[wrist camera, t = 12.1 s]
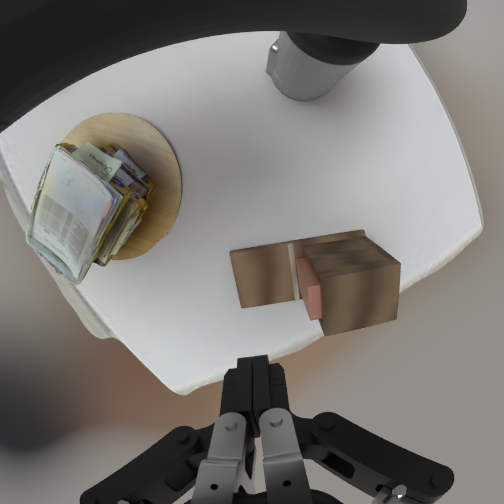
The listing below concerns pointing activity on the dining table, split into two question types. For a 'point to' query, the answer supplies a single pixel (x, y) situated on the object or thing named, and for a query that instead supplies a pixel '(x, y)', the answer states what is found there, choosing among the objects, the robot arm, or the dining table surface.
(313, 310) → the terracotta plug
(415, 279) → the dining table surface
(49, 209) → the stacked packages on board
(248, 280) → the walnut socket base
